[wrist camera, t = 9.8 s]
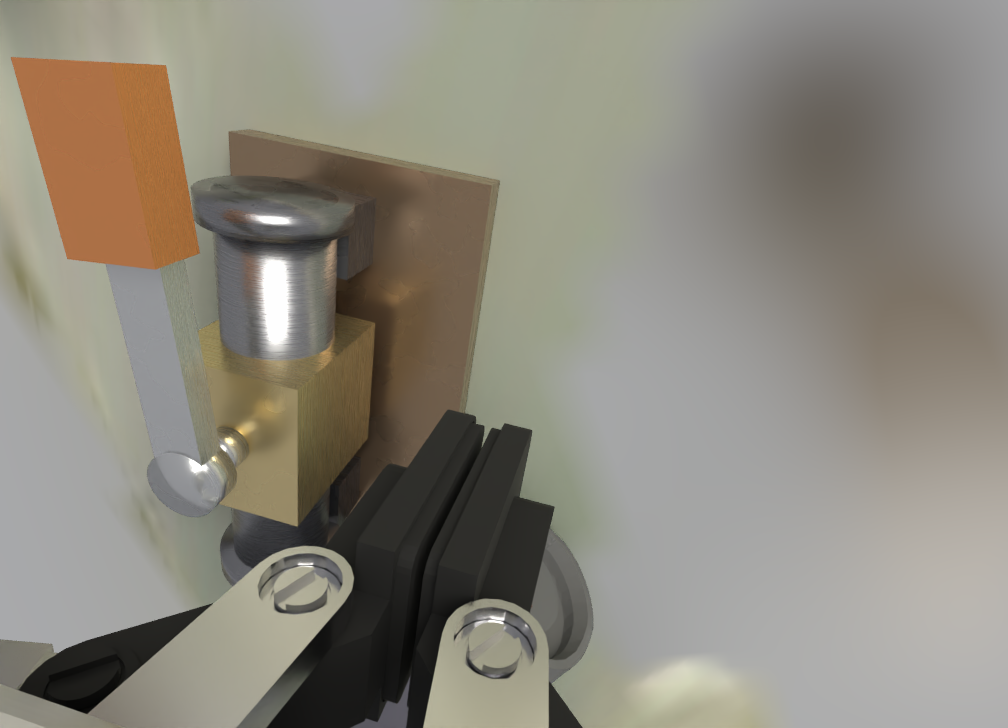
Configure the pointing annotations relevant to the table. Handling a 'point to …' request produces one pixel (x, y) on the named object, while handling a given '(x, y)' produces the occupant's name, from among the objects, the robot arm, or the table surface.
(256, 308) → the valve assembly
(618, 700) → the table surface
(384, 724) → the bluetooth speaker
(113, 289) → the lever
